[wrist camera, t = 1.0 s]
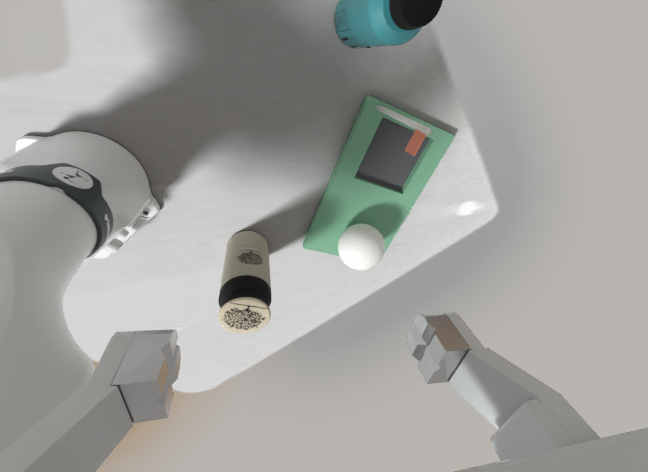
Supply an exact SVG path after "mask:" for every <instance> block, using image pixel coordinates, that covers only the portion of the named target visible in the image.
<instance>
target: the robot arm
mask: <svg viewBox="0 0 648 472" xmlns="http://www.w3.org/2000/svg"><path fill="white" fill-rule="evenodd" d="M159 210H160V207H159V204H158V203H157V201H156V199H155V198H154V197H153V195H152V194H151V191H150V187H149V181H148V178H147V175H146V173H145V171H144V169H143V168H142V166H141V165H140V163H139V162H138V161H137V159H136V158H135V157H134V156H133V155H132V154H131V153H130V152H128V151H127V150H126V149H125V148H123V147H122V146H120V145H119V144H117V143H115V142H114V141H112V140H110V139H108V138H105V137H103V136H100V135H97V134H93V133H88V132H80V131H72V132H64V133H60V134H57V135H54V136H50V137H41V136H23V137H21V138H20V139H18V140H17V141H16V148H15V153H14V154H12V155H10V156H9V157H7V158H5V159H3V160H2V161H0V472H95V471H96V470H97V469H98V468H99V467H100V465H101V464H102V463H103V462H104V460H105V459H106V458H107V457H108V456H109V454H110V453H111V452H112V451H113V449H114V448H115V447H116V446H117V445H118V443H119V442H120V441H121V440H122V439H123V437H124V436H125V435H126V434H127V432H128V431H129V430H130V429H131V428H132V426H133V423H138V422H144V421H150V420H157V419H163V418H168V414H169V410H170V406H171V403H172V399H173V395H174V393H173V388H172V384H173V383H174V382H175V381H176V380H177V378H178V374H179V369H180V360H181V354H180V347H179V346H178V345H176V342H177V338H178V336H177V332H176V330H150V331H127V332H116V333H115V334H114V335H113V336H112V338H111V340H110V341H109V343H108V345H107V347H106V349H105V351H104V353H103V355H102V357H101V359H100V361H99V363H98V365H97V367H96V369H95V367H94V365H93V362H92V360H91V358H90V357H89V356H88V355H87V354H86V353H85V352H84V351H83V350H82V349H81V348H80V347H79V345H78V344H77V343H76V341H75V340H74V338H73V337H72V335H71V333H70V331H69V329H68V327H67V324H66V321H65V318H64V312H63V296H64V293H65V290H66V288H67V286H68V284H69V282H70V281H71V279H72V277H73V276H74V274H75V273H76V271H77V270H78V268H79V267H80V265H81V264H82V263H86V262H88V261H90V260H91V259H92V258H107V257H108V256H110V255H111V254H112V253H113V254H114V253H115V252H116V251H117V250H118V249H119V248H120V247H121V246H122V244H123V243H124V242H125V241H127V240H128V239H129V238H130V237H131V236H132V235H133V234H134V233H136V232H137V231H138V230H139V229H140V228H141V227H142V226H143V225H145V224H146V223H147V222H148V221H149V220H150V219H151V218H152V217H153V216H155V215H156V214H157V213H158V212H159ZM144 211H147V212H148V214H147V213H145V212H144ZM413 322H414V324H415V326H414V327H413V328H411V329H410V330H409V333H408V335H407V344H408V347H409V350H410V352H411V354H412V356H414V357H415V358H416V359H417V360H419V362H418V367H419V369H420V371H421V373H422V375H423V377H424V379H425V381H426V383H427V384H430V383H441V382H448V384H449V385H450V386H451V387H453V388H454V389H455V390H456V391H457V392H458V393H459V394H460V395H461V396H462V397H463V398H464V399H466V400H467V401H468V402H469V403H470V404H471V405H472V406H473V407H474V408H475V409H476V410H477V411H479V412H480V413H481V414H482V415H483V416H484V417H485V418H486V419H487V420H488V421H489V422H491V423H492V424H493V425H494V426H495V427H496V428H497V429H498V431H497V432H496V433H495V434H494V435H493V436H492V437H491V439H490V443H491V445H492V446H493V448H494V450H495V452H496V453H497V455H498V457H499V458H500V460H501V461H499V462H494V463H490V464H485V465H481V466H477V467H473V468H468V469H463V470H459V471H455V472H648V428H644V429H640V430H635V431H631V432H626V433H622V434H617V435H613V436H609V437H604V438H600V437H599V436H598V435H597V434H596V433H595V432H594V431H593V429H592V428H591V427H590V426H589V425H588V424H587V423H586V422H585V421H584V419H583V418H582V417H581V416H580V415H579V414H578V413H577V412H576V410H575V409H574V408H573V407H572V406H571V405H570V404H569V403H568V402H567V400H565V398H564V397H563V396H562V395H561V394H560V393H558V392H557V391H555V390H553V389H552V388H550V387H549V386H547V385H546V384H544V383H542V382H541V381H539V380H538V379H536V378H534V377H533V376H531V375H530V374H528V373H527V372H525V371H524V370H522V369H520V368H519V367H517V366H516V365H514V364H513V363H511V362H509V361H508V360H506V359H505V358H503V357H502V356H500V355H498V354H497V353H495V352H494V351H492V350H491V349H489V348H486V349H485V348H484V346H483V345H482V344H481V343H480V341H479V340H478V339H477V337H476V336H475V335H474V334H473V332H472V331H471V330H470V329H469V327H468V326H467V325H466V323H465V322H464V321H463V320H462V318H461V317H460V316H459V315H458V314H456V313H455V312H453V313H433V314H419V315H418V316H416V317H415V319H414V321H413Z"/></svg>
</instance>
